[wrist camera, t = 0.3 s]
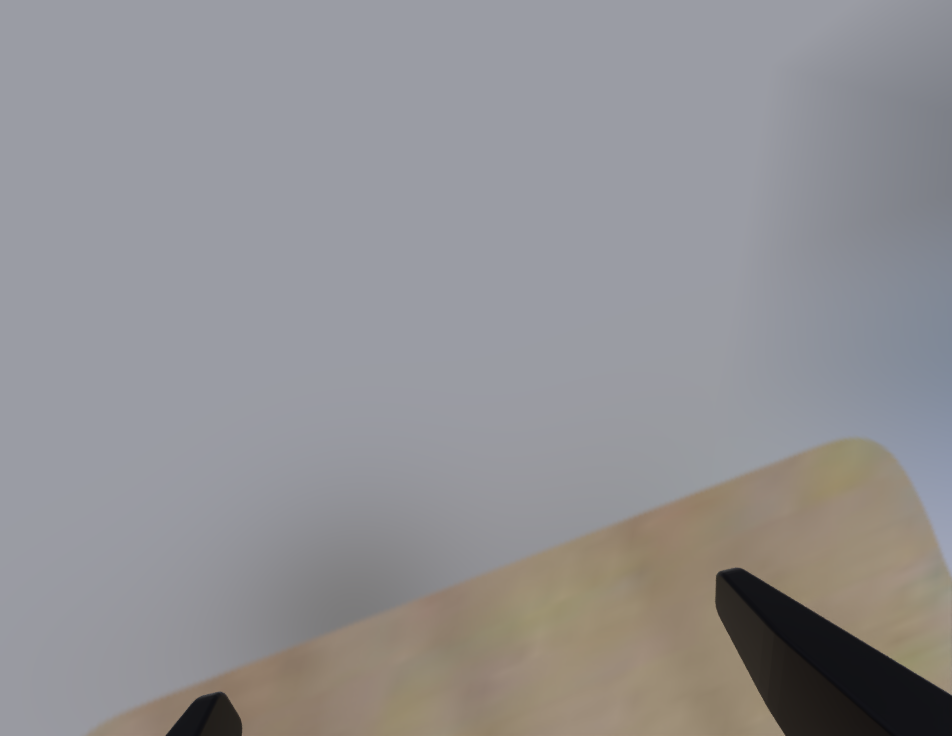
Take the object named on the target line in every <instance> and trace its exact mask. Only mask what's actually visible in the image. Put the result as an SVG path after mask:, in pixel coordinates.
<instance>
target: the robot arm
mask: <svg viewBox="0 0 952 736" xmlns="http://www.w3.org/2000/svg"><path fill="white" fill-rule="evenodd" d="M715 604H716V609H717V612H718V615H719V617H720V619H721V621H722V623H723V625H724V626H725V628H726V630H727V632H728V634H729V636H730V638H731V640H732V642H733V644H734V645H735V647H736V649H737V651H738V653H739V655H740V657H741V659H742V661H743V663H744V664H745V666H746V668H747V670H748V672H749V674H750V676H751V678H752V680H753V682H754V683H755V685H756V687H757V689H758V691H759V693H760V695H761V697H762V698H763V700H764V702H765V704H766V706H767V707H768V709H769V710H770V712H771V714H772V715H773V717H774V719H775V720H776V722H777V723H778V725H779V726H780V728H781V730H782V731H783V733H784V734H785V736H952V695H951V694H949V693H947V692H946V691H944V690H942V689H941V688H939V687H937V686H936V685H934V684H932V683H931V682H929V681H927V680H926V679H924V678H923V677H921V676H919V675H918V674H916V673H914V672H913V671H911V670H909V669H908V668H906V667H904V666H903V665H901V664H899V663H898V662H896V661H894V660H893V659H891V658H889V657H888V656H886V655H885V654H883V653H881V652H880V651H878V650H876V649H875V648H873V647H871V646H870V645H868V644H866V643H865V642H863V641H861V640H860V639H858V638H856V637H855V636H853V635H851V634H850V633H848V632H846V631H845V630H843V629H842V628H840V627H838V626H837V625H835V624H833V623H832V622H830V621H828V620H827V619H825V618H823V617H822V616H820V615H818V614H817V613H815V612H813V611H812V610H810V609H808V608H807V607H805V606H804V605H802V604H800V603H799V602H797V601H795V600H794V599H792V598H790V597H789V596H787V595H785V594H784V593H782V592H780V591H779V590H777V589H775V588H774V587H772V586H770V585H769V584H767V583H765V582H764V581H762V580H761V579H759V578H757V577H756V576H754V575H752V574H751V573H749V572H747V571H746V570H744V569H741V568H731V569H727V570H723V571H720V572H718V574H717V575H716V595H715ZM166 736H242V723H241V719H240V717H239V715H238V713H237V712H236V710H235V708H234V707H233V705H232V704H231V702H230V700H229V699H228V697H227V695H226V694H225V693H223V692H216V693H211V694H207V695H203V696H201V697H199V698H197V699H196V700H195V701H194V702H193V703H192V704H191V705H190V706H189V707H188V709H187V710H186V711H185V712H184V714H183V715H182V716H181V717H180V718H179V720H178V721H177V722H176V723H175V725H174V726H173V727H172V728H171V730H170V731H169V732H168V733H167V734H166Z"/></svg>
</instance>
